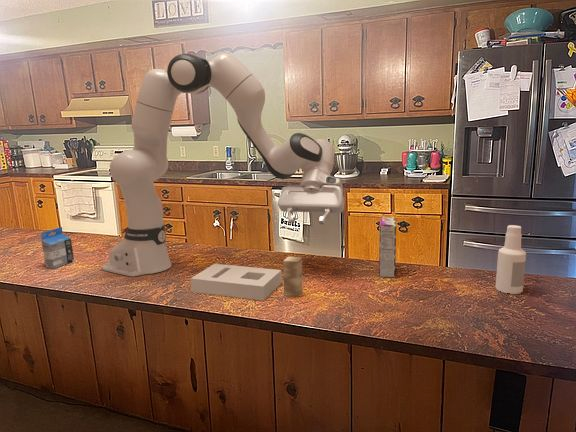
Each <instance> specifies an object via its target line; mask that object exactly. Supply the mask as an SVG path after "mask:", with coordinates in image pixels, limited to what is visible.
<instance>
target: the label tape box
mask: <svg viewBox="0 0 576 432" xmlns="http://www.w3.org/2000/svg"><path fill="white" fill-rule="evenodd" d="M52 233H54V234H52ZM50 234H51V235H50ZM40 236H41V237H40V239H41V246H42V252H43V258H44V264H45V269H49V270H50V269H51V270H52V269H53V270H55V269H58V268H60V267H62V266H65V265H67V264H70V263H73V262H75V257H74V250H73V243H72V238H71V237H69V236H67V235H66V234H64V233H63V226H60V227H57V228H53V229H50V230H45V231H43V232H40Z"/></svg>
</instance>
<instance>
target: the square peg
mask: <svg viewBox="0 0 576 432" xmlns="http://www.w3.org/2000/svg"><path fill="white" fill-rule="evenodd" d="M302 293H303V257H299V256H287V257H286V258H285V259H283V296H285V297H291V298H299V297H300V296H301V295H302Z"/></svg>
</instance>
